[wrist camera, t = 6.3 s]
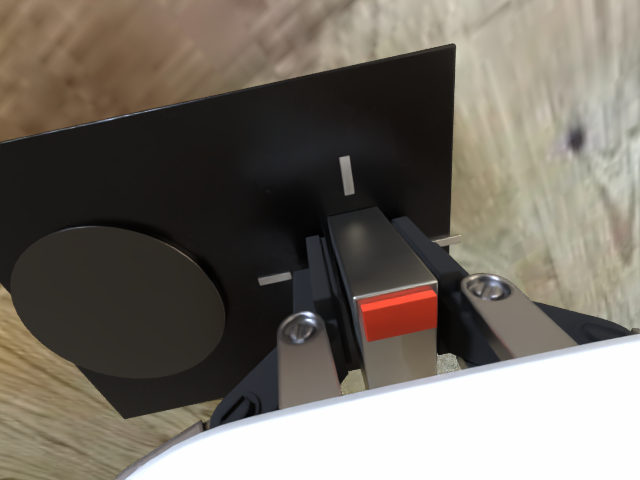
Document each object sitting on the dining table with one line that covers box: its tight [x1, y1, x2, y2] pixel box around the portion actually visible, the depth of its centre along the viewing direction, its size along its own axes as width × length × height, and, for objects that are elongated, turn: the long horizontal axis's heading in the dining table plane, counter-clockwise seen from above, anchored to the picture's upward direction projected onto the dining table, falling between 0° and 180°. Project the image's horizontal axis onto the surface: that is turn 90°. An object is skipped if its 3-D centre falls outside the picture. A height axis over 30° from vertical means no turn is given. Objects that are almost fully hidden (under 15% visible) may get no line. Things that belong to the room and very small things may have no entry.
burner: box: [10, 222, 227, 378], centre depth 12 cm, size 8×8×1 cm
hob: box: [0, 43, 461, 419], centre depth 13 cm, size 14×18×3 cm
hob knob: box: [327, 207, 438, 390], centre depth 9 cm, size 4×2×5 cm, turn 11°
